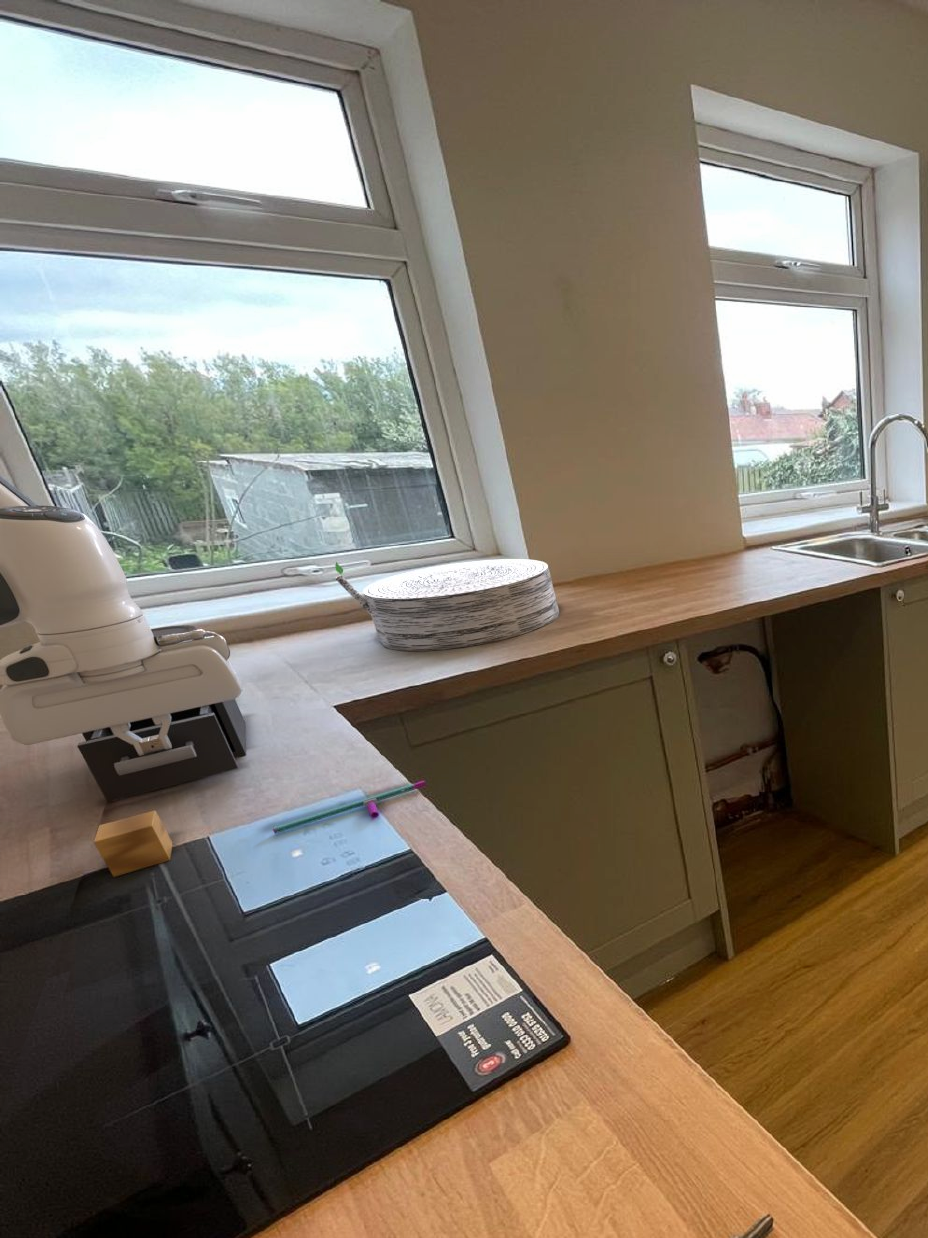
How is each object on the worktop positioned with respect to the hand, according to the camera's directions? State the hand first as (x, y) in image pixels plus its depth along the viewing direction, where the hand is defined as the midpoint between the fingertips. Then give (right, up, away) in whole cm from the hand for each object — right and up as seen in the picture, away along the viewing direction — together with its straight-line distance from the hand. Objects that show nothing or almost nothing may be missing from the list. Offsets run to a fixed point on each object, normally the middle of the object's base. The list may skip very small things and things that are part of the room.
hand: (156, 751), depth 94 cm
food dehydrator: (-5, +22, +70) cm, 74 cm away
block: (+10, -11, -11) cm, 18 cm away
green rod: (+28, -8, -4) cm, 29 cm away
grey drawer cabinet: (-12, -1, +15) cm, 19 cm away
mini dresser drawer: (-5, -3, +7) cm, 10 cm away
